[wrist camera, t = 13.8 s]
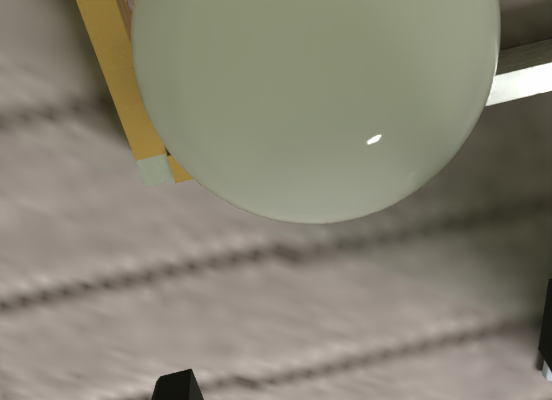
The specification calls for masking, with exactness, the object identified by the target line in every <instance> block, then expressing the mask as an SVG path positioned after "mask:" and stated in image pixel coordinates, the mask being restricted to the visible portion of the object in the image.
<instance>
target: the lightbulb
mask: <svg viewBox="0 0 552 400" xmlns="http://www.w3.org/2000/svg"><path fill="white" fill-rule="evenodd" d="M500 42H501V12H500V2H499V0H134V4H133V11H132V22H131V49H132V60H133V67H134V73H135V78H136V82H137V86H138V90H139V93H140V97H141V100H142V103H143V105H144V108H145V110H146V113H147V115H148V117H149V119H150V122H151V124H152V125H153V127H154V129H155V131H156V133H157V135H158V136H159V138H160V140H161V141H162V143H163V144H164V146H165V147H166V148H167V150H168V151H169V153H170V154H171V155H172V156H173V158H174V159H175V160H176V161H177V162H178V164H179V165H180V166H181V167H182V168H183V169H184V170H185V171H186V172H187V173H188V174H189V175H190V176H191V177H192V178H193V179H195V180H196V181H197V182H198V183H199V184H200V185H202V186H203V187H204V188H206V189H207V190H208V191H210V192H211V193H213V194H214V195H216V196H217V197H219V198H220V199H222V200H224V201H226V202H227V203H229V204H231V205H233V206H235V207H237V208H239V209H242V210H244V211H246V212H249V213H251V214H254V215H257V216H260V217H264V218H268V219H271V220H276V221H281V222H287V223H296V224H328V223H337V222H343V221H348V220H353V219H357V218H361V217H364V216H367V215H370V214H373V213H376V212H378V211H381V210H383V209H385V208H388V207H390V206H392V205H394V204H396V203H398V202H400V201H401V200H403V199H405V198H406V197H408V196H410V195H411V194H413V193H414V192H416V191H417V190H419V189H420V188H421V187H423V186H424V185H425V184H426V183H428V182H429V181H430V180H431V179H432V178H434V177H435V176H436V175H437V174H438V173H439V172H440V171H441V170H442V169H443V168H444V167H445V166H446V165H447V164H448V163H449V162H450V161H451V160H452V158H453V157H454V156H455V155H456V154H457V152H458V151H459V150H460V148H461V147H462V146H463V144H464V143H465V141H466V140H467V139H468V137H469V135H470V134H471V132H472V131H473V129H474V127H475V125H476V124H477V122H478V120H479V118H480V116H481V114H482V112H483V109H484V107H485V105H486V102H487V100H488V97H489V94H490V91H491V88H492V85H493V81H494V78H495V74H496V69H497V65H498V59H499V52H500Z"/></svg>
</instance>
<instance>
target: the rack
mask: <svg viewBox="0 0 552 400" xmlns="http://www.w3.org/2000/svg"><path fill="white" fill-rule="evenodd" d="M76 2H77V5H78V7H79V10H80V13H81V15H82V18H83V21H84V23H85V26H86V29H87V31H88V34H89V37H90V39H91V42H92V45H93V47H94V50H95V53H96V56H97V58H98V61H99V64H100V66H101V69H102V72H103V74H104V77H105V80H106V82H107V85H108V88H109V90H110V93H111V96H112V98H113V101H114V104H115V106H116V109H117V112H118V115H119V117H120V120H121V123H122V125H123V128H124V131H125V133H126V136H127V139H128V141H129V144H130V147H131V149H132V152H133V155H134V157H135V160H136V163H137V165H138V168H139V171H140V174H141V176H142V179H143V182H144V184H145V187H149V186H153V185H158V184H162V183H166V182H170V181H174V180H175V183H178V182H183V181H187V180H191V179H193V178H192V177H191V176H190V175H189V174H188V173H187V172H186V171H185V170H184V169H183V168H182V167H181V166H180V165H179V164H178V162H177V161H176V160H175V159H174V158H173V156H172V155H171V154H170V153H169V151H168V150H167V148H166V147H165V146H164V144H163V143H162V141H161V140H160V138H159V136H158V135H157V133H156V131H155V129H154V127H153V125H152V124H151V122H150V119H149V117H148V115H147V113H146V110H145V108H144V105H143V103H142V100H141V97H140V93H139V90H138V86H137V82H136V78H135V73H134V67H133V60H132V49H131V22H132V16H131V13H130V10H129V6H128V3H127V0H76ZM551 90H552V38H551V39H547V40H543V41H538V42H534V43H530V44H526V45H521V46H517V47H513V48H508V49H504V50H500V52H499V59H498V65H497V69H496V74H495V78H494V81H493V85H492V88H491V91H490V94H489V97H488V100H487V102H486V105H485V106H489V105H493V104H497V103H501V102H505V101H509V100H514V99H518V98H522V97H526V96H530V95H535V94H539V93H543V92H547V91H551Z"/></svg>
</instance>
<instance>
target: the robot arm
mask: <svg viewBox="0 0 552 400" xmlns="http://www.w3.org/2000/svg"><path fill="white" fill-rule="evenodd" d="M538 350H539V351H540V353H541V355H542V357H543V358H544V365H543V371H542V375H543V376H544V378H545V379H546V380H547V381H552V279H549V282H548V289H547V295H546V302H545V308H544V315H543V321H542V328H541V334H540V341H539V347H538ZM151 400H204V399H203V396H202V394H201V391H200V389H199V386H198V383H197V381H196V378H195V376H194V373H193V371H192V369H188V370H184V371H180V372H176V373H172V374H168V375H164V376H160V378H159V379H158V380H157V381H156V385H155V389H154V392H153V396H152V399H151Z"/></svg>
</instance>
